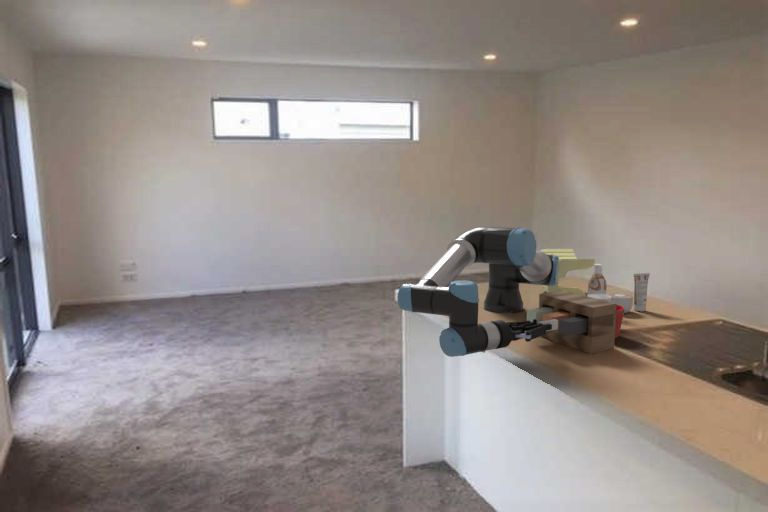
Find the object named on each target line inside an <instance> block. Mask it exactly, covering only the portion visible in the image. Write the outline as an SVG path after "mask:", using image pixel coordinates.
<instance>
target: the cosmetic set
mask: <svg viewBox="0 0 768 512" xmlns="http://www.w3.org/2000/svg"><path fill="white" fill-rule="evenodd" d="M602 271H603V264H602V263H594V266H593V274H592V275H591V276H590V278H589V280H588V283H587V295H589V294H605V295H609V296H611V302H612V303H616V305H621V306H623V307H624V308H625V309H624V314H627V313H629V312H630V311H631V310H632V309H633V310H634V311H635V312H639V311H640V312H642V313H643V312H645V311H646V310H647V296H648V285H649V278H650V274H651V273H650V272H646V273H643V272H642V273H633V280H634V291H633V293H634V294H629V293H624V292H610V293H607V280H606V278H605V276H604V275H603V274H602Z"/></svg>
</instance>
